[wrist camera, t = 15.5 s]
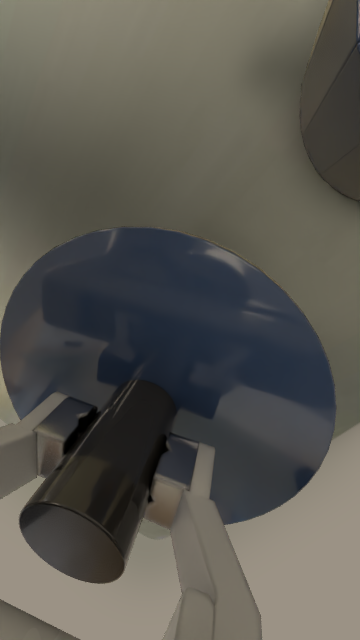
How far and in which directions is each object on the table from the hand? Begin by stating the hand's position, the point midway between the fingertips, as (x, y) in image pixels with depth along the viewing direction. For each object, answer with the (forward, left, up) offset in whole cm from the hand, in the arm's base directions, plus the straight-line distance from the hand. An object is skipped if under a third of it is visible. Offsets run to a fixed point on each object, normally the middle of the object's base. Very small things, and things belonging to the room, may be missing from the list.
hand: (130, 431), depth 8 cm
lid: (0, 0, -2) cm, 2 cm away
